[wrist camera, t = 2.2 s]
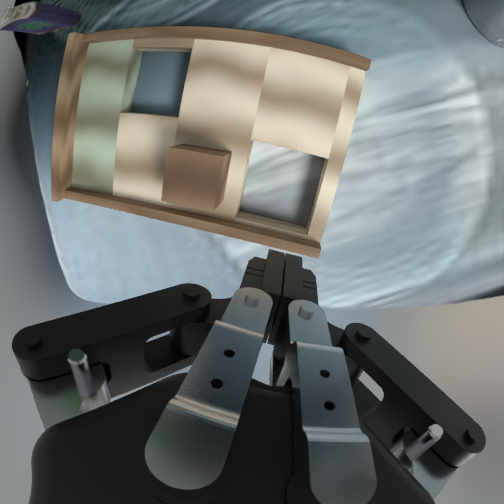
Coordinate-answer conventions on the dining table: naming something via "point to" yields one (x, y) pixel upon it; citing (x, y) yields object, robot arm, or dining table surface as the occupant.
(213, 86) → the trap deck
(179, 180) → the walnut block
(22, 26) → the flask
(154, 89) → the dining table surface
